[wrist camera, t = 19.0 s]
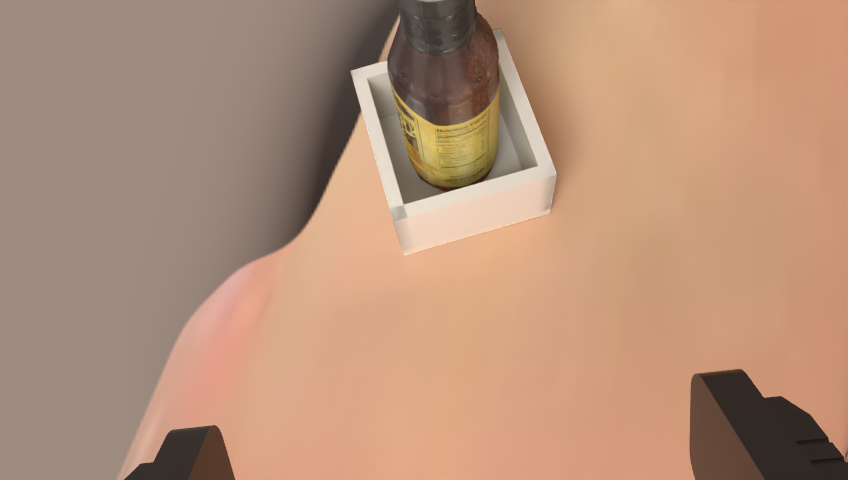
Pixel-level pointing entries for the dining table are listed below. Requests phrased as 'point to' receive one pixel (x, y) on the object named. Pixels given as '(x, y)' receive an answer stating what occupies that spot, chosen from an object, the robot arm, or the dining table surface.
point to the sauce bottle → (446, 91)
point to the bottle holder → (473, 205)
